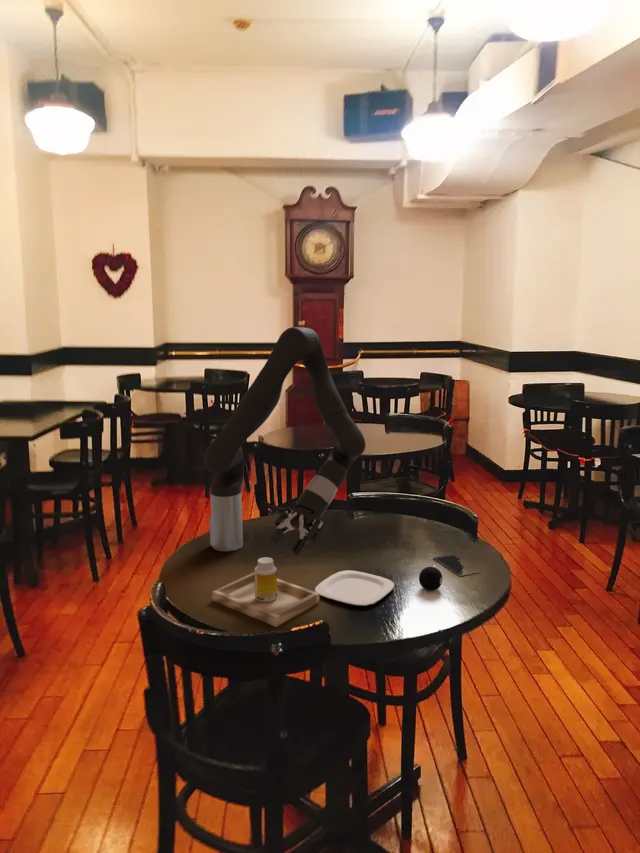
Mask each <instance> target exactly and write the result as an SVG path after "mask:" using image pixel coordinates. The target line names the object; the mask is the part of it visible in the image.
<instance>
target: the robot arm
mask: <svg viewBox="0 0 640 853" xmlns="http://www.w3.org/2000/svg"><path fill="white" fill-rule="evenodd" d="M325 356H326V355H325V352H324V349H323V346H322V343H321V340H320V338H319V335H318V334H317V332H316V331H315V330H313V329H312V328H310V327H303V326H301V327H300V326H293V327H289V328H286V329H285V330H284V331H283V332H282V333H281V334H280V336H279V337H278V339H277V341H276V343H275V345H274V347H273V349H272V351H271V352H270V354H269V357H268V358H267V360H266V362H265V364H264V365H263V367H262V368H261V370H260V371H259V372H258V374H257V376H256V377H255V379H254V380H253V382H252V383H251V385H250V386H249V387H248V389H247V391H246V392H245V394H244V395H243V396H242V398H241V400H240V402H239V403H238V405H237V406H236V408H235V410H233V413H232V414H231V416H230V418H229V419H228V421H227V422H226V424H225V426H224V427H223V428H222V430H221V431H220V432H219V434H217V436H216V437H215V439H214V440H213V441H212V442H211V443H210V445H208V447H207V448H206V450H205V452H204V457H203V461H204V466H205V467H206V469H207V470H208V471H209V473H213V474H215V476H214V478H213V480H212V481H211V483H210V488H209V491H210V506H211V507H210V508H211V509H210V510H211V511H210V512H211V513H210V515H209V518H208V519H209V539H210V542H209V543H210V546H211V547H212V548H213V550H215V551H217V552H218V551H219V552H233V551H237V550H239V549H241V548H243V545H244V540H243V538H244V537H243V534H244V533H243V510H242V509H243V506H242V505H243V504H242V485H243V482H244V473H245V472H244V463H245V462H244V461H245V458H244V452H243V448H242V445H244V443H246V441H247V440H248V439H249V438H250V437H251V436H252V435H253V434H254V433H255V432H256V431H257V430H258V429H260V427H261V426H263V424H264V423H265V422H266V421H267V420H268V419H269V417H270V415H271V414H272V413H273V411H274V410H275V408H276V407H277V405H278V403H279V402H280V398H281V395H282V390H283V386H284V383H285V380H286V378H287V377H288V375H289V373H290V372H291V371H292V369H293V368H294V367H295V365H297V364H298V363H299V362H301V363H302V364H303V366H304V368H305V369H306V370H307V372H308V375H309V378H310V382H311V385H312V391H313V398H314V403H315V406H316V408H317V410H318V412H319V416H321V419H322V421H323V423H324V425H325V427H326V428H327V429H328V430H330V431H331V432H332V433H333V434H334V437H335V438H336V439H337V441H336V443H335V444H334V445H333V447H332V449H331V451H330V453H329V454H328V456H327V458H326V460H325V461H324V463H322V465H321V467H319V468H318V469H319V470H318V471H317V472H316V474H315V475H314V476H313V477H312V479H311V480H310V481H309V482H308V483H307V486H306V487H305V489H304V490H303V491H302V493H301V494H300V496H299V498H298V499H297V500H296V507H295V508H294V509H291V508H290V506H285V508H284V509H283V510H282V512H281V513H280V515H279V516H278V517H277V519H276V520H275V522H274V526H275V527H276V531H275V532H274V534H273V535H272V536H271V538H270V539H271V540H270V543H272V544H273V545H274V546H278V545H279V544H280V541H282V538H283V537H284V535H285V534H286V533H287V532H289V531H293V530H298V531H299V538H297V540H296V541H295V543H294V544H293V546H292V548H291V549H290V552H291V553H292V554H293V555H294V556H298V555H299V554H300V553H301V552H302V550H303V549H304V548H305V545H308V543H309V544H310V543H311V544H312V545H313V544H315V542H316V540H317V539H318V537H319V535H320V534H321V532H322V530H323V528H324V527H325V523H324V522H323V521H322V520H321V518H322V517H323V515H324V513H325V512H326V510H327V509H328V507H329V506H330V504H331V502H332V501H333V499H334V498H335V496H336V493H337V492H338V490H339V488H340V486H341V485H342V484H343V483H344V480H345V479H346V477H347V474H348V471H349V470H350V468H351V466H352V465H353V463H354V462H355V461H356V459H357V458H359V457H360V456H361V455H362V454H363V453H364V452H365V450H366V441H365V440H366V439H365V437H364V434H363V433H362V431H361V430H360V428H359V427H358V426H357V424H356V422H354V421H355V420H353V419H352V418H351V416H350V414H349V412H348V410H347V407H346V405H345V403H344V401H343V399H342V398H341V395H340V394H339V391H338V389H337V387H336V384H335V382H334V379H333V377H332V374H331V371H330V368H329V366H328V362H327V359H326V357H325Z"/></svg>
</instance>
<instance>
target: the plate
mask: <svg viewBox="0 0 640 853" xmlns="http://www.w3.org/2000/svg"><path fill="white" fill-rule="evenodd" d="M394 588H395V582H393V581H392V580H390V579H388V578H385V577H383V576H379V575H376V574H372V573H367V572H363V571H359V570H358V571H357V570H347V569H346V570H341V571H338V572H335V573H334V574H331V575H330V576H328V577H327V578H326V579H324V580H322V581H321V582H320V583H318V584H317V585H316V586H315V587H314V592H317V593H319V597H322V598H325V599H327V600H332V601H334V602H338V603H341V604H345V605H350V606H355V607H369V606H371V605H375V604H376V603H378V602H380V601H381V600H382V599H384V598H385V597H387V595H389V594H390V593H391V592H392V591H393V589H394Z"/></svg>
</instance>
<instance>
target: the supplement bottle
mask: <svg viewBox="0 0 640 853" xmlns="http://www.w3.org/2000/svg"><path fill="white" fill-rule="evenodd" d="M254 572H255V598H256V599H257V600H258V601H260V602H271V601H273V600H275V599H276V598H277V579H278V578H277V576H278V574H277V572H278V569H277V567H276V566H275V564H274V558H271V557H267V556H265V557H260V558H258V559H257V566H255V568H254Z"/></svg>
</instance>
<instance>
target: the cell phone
mask: <svg viewBox="0 0 640 853" xmlns="http://www.w3.org/2000/svg"><path fill="white" fill-rule="evenodd" d="M460 558H461V557H459V556H457V555H456V554H453V553H452V554H446V555H440V556H434V557H433V558H432V559H434V560H433V561H435V560H436V561H437V562H439V563H440V564H442V565H443V566H445V567H446V568H448V569H449V570H451V571H452V572H451V571H450V572H451V573H453V572H454V573H456V574H457V575H462V574H463V573H462V572H463V571H462V569H463V568H464V567H463V566H462V565H461V564H460V561H459V562H458V560H460ZM436 561H435V562H436ZM437 562H436V563H437ZM439 563H438V564H439ZM440 564H439V565H440ZM442 565H441V566H442ZM443 566H442V567H443ZM445 567H444V568H445ZM462 567H463V568H462ZM446 568H445V569H446ZM448 569H447V570H448ZM449 570H448V571H449ZM461 571H462V572H461ZM454 573H453V574H454ZM456 574H455V575H456ZM457 575H456V576H457Z"/></svg>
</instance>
